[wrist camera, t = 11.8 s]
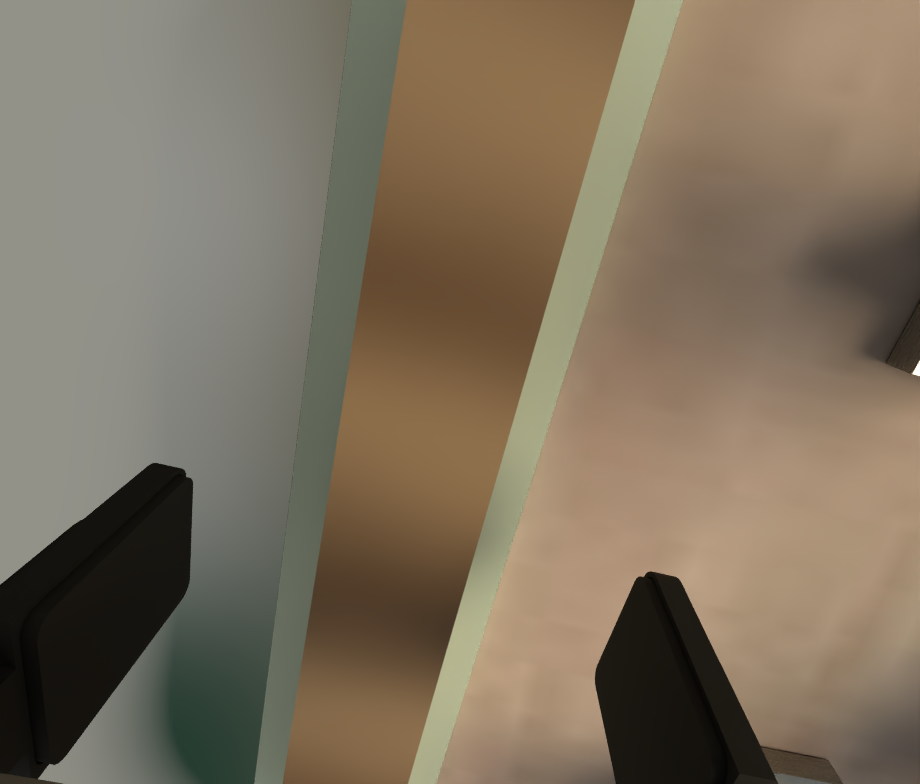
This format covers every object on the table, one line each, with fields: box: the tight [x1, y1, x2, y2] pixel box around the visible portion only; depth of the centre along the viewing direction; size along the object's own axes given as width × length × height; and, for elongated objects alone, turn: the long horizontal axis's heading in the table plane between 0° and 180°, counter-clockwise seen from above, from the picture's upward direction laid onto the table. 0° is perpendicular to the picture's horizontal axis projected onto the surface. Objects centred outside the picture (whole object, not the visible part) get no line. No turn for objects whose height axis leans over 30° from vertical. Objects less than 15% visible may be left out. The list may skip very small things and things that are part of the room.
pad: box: [254, 0, 683, 784], centre depth 14 cm, size 28×6×1 cm, turn 167°
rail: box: [283, 0, 635, 784], centre depth 12 cm, size 24×3×3 cm, turn 167°
